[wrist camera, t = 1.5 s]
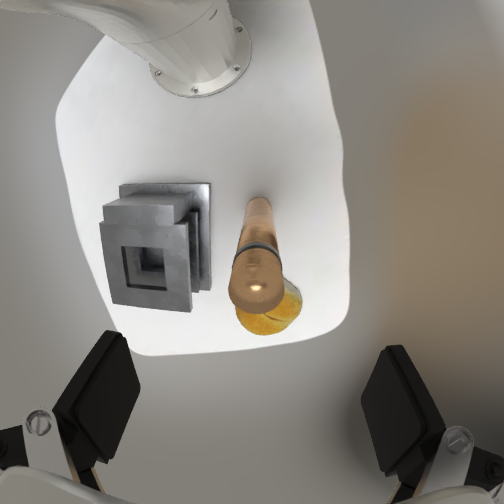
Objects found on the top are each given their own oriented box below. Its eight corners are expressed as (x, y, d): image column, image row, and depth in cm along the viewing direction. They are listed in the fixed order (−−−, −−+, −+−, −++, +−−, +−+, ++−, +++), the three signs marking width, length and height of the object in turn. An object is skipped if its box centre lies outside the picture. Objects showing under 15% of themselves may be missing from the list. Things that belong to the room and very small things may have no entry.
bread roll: (226, 307, 39) (222, 324, 35) (266, 263, 36) (266, 277, 32) (270, 336, 40) (270, 354, 37) (311, 297, 38) (316, 313, 34)
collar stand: (122, 184, 32) (87, 196, 24) (210, 183, 32) (193, 195, 24) (132, 280, 37) (106, 311, 30) (211, 287, 37) (198, 323, 29)
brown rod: (246, 196, 33) (227, 262, 14) (272, 197, 33) (288, 265, 14) (245, 221, 34) (227, 313, 15) (271, 222, 34) (282, 315, 15)
